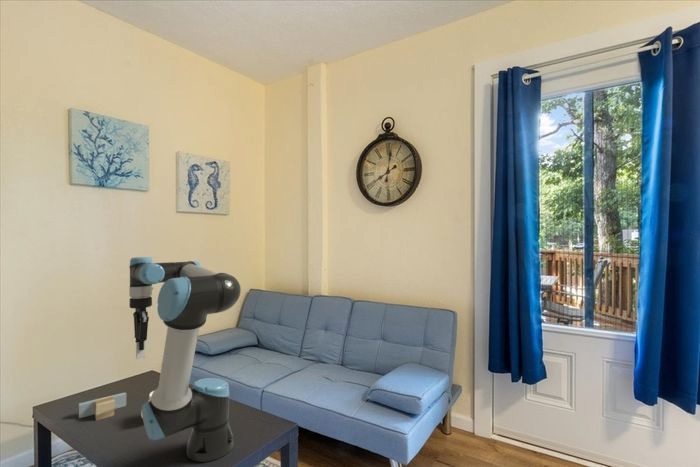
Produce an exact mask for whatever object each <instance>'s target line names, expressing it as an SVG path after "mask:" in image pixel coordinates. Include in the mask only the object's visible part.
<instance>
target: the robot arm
mask: <svg viewBox="0 0 700 467" xmlns="http://www.w3.org/2000/svg"><path fill="white" fill-rule="evenodd" d="M128 268H129V288H128V290H129V293H128V294H129V296H128V297H129V308H130V309H135V310H134V312H133V314H132V316H133V326H134V328H133V329H134V338H135V343H136V344H135V359H136V360H140V359H144V358H146V341H147V339H148V328H149V326H148V325H149V319H150V317H149V316H148V315H149V312H148V311H147V308H150V307H152V306H153V297H152V294H153V290H154V287H153V285H156V284H160V283H163V284H162V286H161V288H160V290H159V293H158V296H157V307H156V308H157V315H158V317H159V319H160V320H162V322H163V324H164V325H165V326H166V327H167V328H166V336H165V340H164V341H165V342H164V348H163V356H162V357H163V358H162V362H161V367H160V368H161V369H160V375H159V380H158V381H159V382H158V386H157V388H155V390H153V391H154V392H153V394H152V396H151V401H149V400H148V401H147V400H146V402H144V403H143V404H142V405H141V410H142V416H143V418H142V421H143V426H144V429H145V432H146V435H147V437H148V439H149V440H151V441H157V440H161V439H165V438H167V437H170V436H173V435H176V434H178V433H180V432H184V431H186V430H188V429H191V428H192V430H191V433H190V435H189V438H188V441H187V444H186V456H187V458H188V459H190V460H191V461H194V462H199V463H200V462H201V463H202V462H203V463H205V462H211V461H215V460H218V459H220V458H222V457H224V456H226V455H227V454H228V453H230V452H231V450H232V449H233V447H234V435H233V432H232V429H231V425H230V422H229V421H230V420H229V416H230V415H229V413H230V412H229V411H230V404H229V403H230V395H231V393H230V388H229V386H230V385H229V383H228V382H227V381H226V380H224V379H223V378H222V379H221V378H216V377H207V378H206V377H205V378H200V379H198V380H196V381H194V382H193V385H192V388H190V386H189V385H190V381H191V376H192V370H193V363H194V358H195V352H196V348H197V343H198V337H199V331H200V328H203V327H204V325H205V324H206V322H207V317H208V315H212V314H218V313H222V312H226V311H228V310H230V309H231V308H232V307H234V305H236V303H237V302H238V300H239V299H240V296H241V292H242V289H241V284H240V282H239V281H238V279H237V278H236V277H235V276H233V275H231V274H229V273H227V272H226V273H225V272H218V273H217V272H214V271H212V270H209V269H208V268H204V267H202V265H201V263H200V262H199V261H193V260H189V261H174V262H170V261H169V262H153V259H152V257H150V256H149V257H147V256H146V257H145V256H141V257H138V256H137V257H131V258H130V260H129V267H128Z"/></svg>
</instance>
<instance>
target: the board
mask: <svg viewBox="0 0 700 467" xmlns="http://www.w3.org/2000/svg"><path fill="white" fill-rule="evenodd" d="M109 396H110V395H108V396H107V397H109ZM111 396H113V398H114V401H115V406H114V410H116V409H119V408H123V407H127V393H126V392H121V393H118V394H112V395H111ZM105 397H106V396H105ZM105 397H103V398H105ZM101 398H102V397H99V399H101ZM97 399H98V398H95V399H91V400H87V401H85V402H79V403H78V419H82V418H86V417H91V416H93V415H94V416H95V400H97Z"/></svg>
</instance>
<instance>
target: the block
mask: <svg viewBox="0 0 700 467" xmlns="http://www.w3.org/2000/svg"><path fill="white" fill-rule="evenodd" d="M108 396H109V397H108ZM108 396H105V398H104V397H100V398H101V399H100V398H96V399H97V400H95V399H94V400H95V414H94V417H95V421H99V420H102V419H106V418H110V417H114V416H115V409H114V406H115V401H114V398H113V396H112V395H108Z"/></svg>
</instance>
